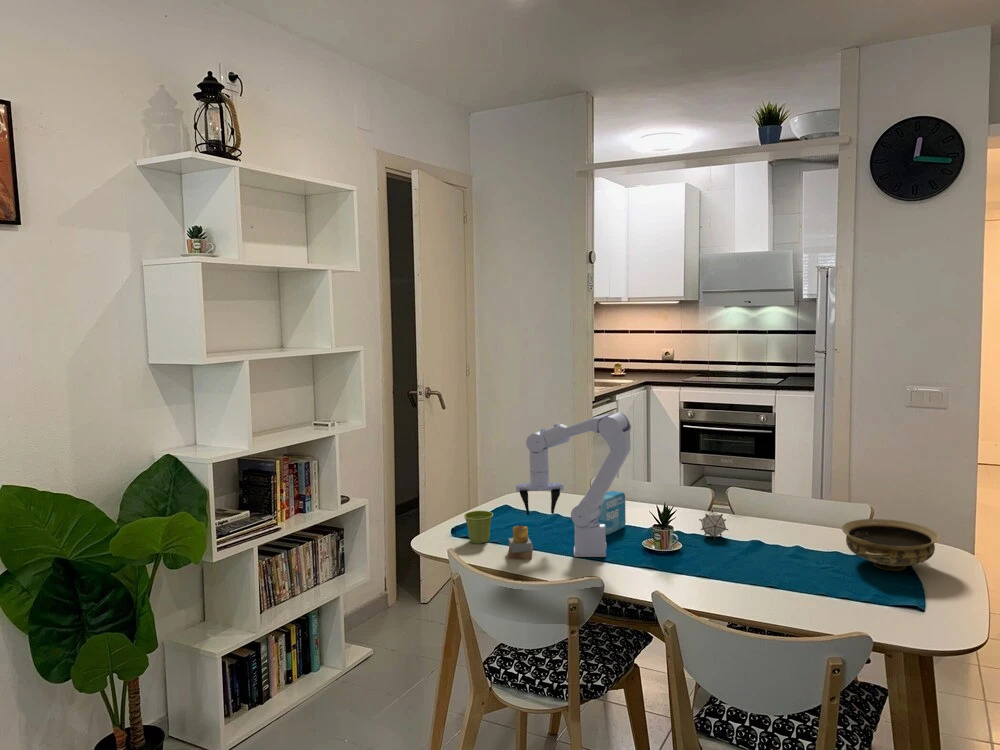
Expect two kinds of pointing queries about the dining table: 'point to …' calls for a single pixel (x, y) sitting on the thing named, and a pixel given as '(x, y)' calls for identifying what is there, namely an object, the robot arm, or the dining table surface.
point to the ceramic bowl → (890, 542)
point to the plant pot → (478, 525)
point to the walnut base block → (520, 554)
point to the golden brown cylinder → (520, 534)
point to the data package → (613, 512)
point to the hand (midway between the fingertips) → (540, 513)
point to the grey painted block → (520, 546)
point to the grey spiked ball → (713, 524)
